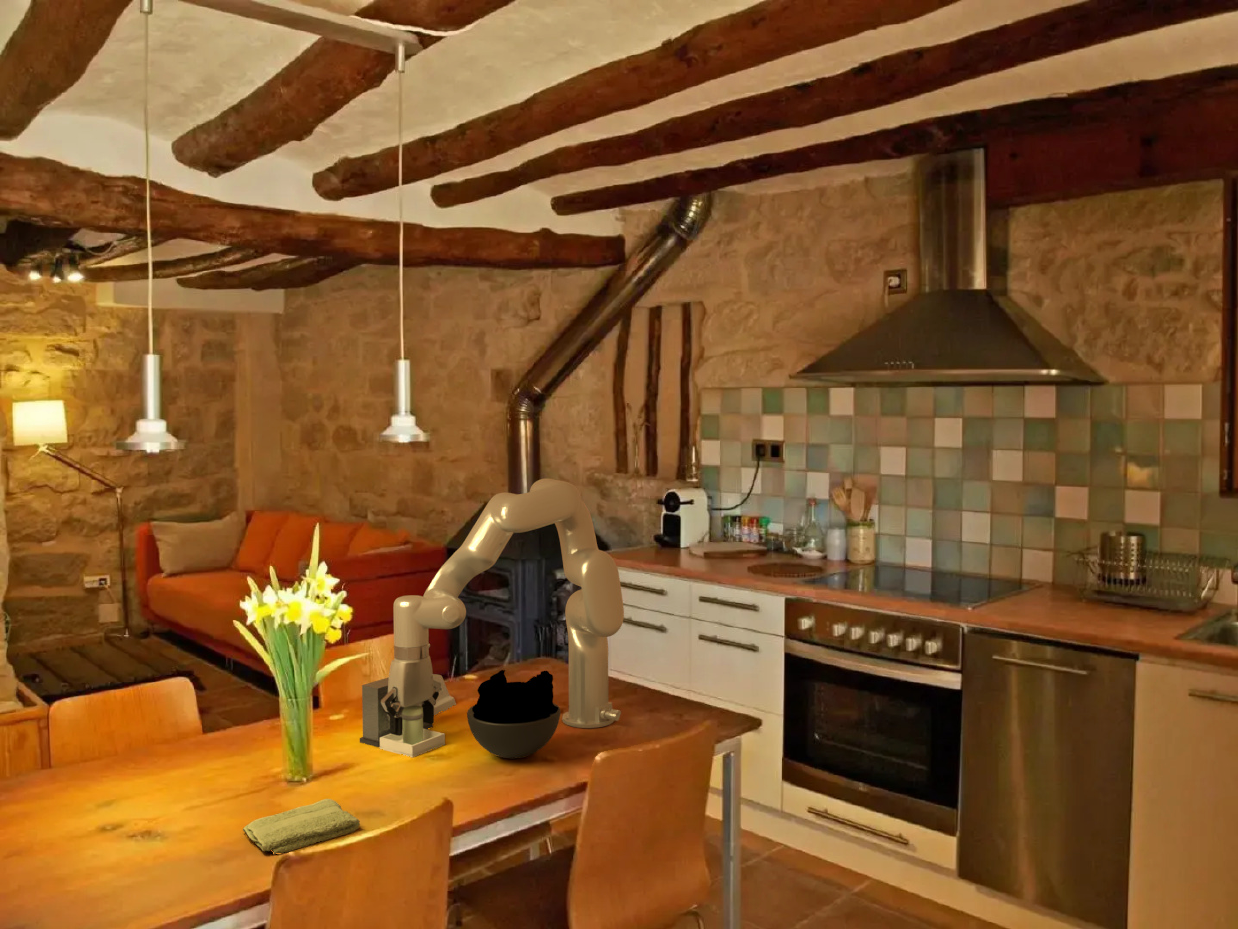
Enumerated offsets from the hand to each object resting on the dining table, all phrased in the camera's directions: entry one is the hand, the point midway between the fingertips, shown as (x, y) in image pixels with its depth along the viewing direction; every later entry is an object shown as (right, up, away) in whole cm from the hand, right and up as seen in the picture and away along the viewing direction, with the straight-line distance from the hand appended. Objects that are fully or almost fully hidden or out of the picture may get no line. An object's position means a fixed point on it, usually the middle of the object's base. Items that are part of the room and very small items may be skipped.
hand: (412, 728), depth 228 cm
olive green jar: (0, -4, 0) cm, 4 cm away
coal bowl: (+23, -5, -6) cm, 24 cm away
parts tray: (0, -4, 0) cm, 4 cm away
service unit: (-5, -4, +9) cm, 11 cm away
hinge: (-2, -3, +26) cm, 26 cm away
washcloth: (-11, -7, -45) cm, 47 cm away
